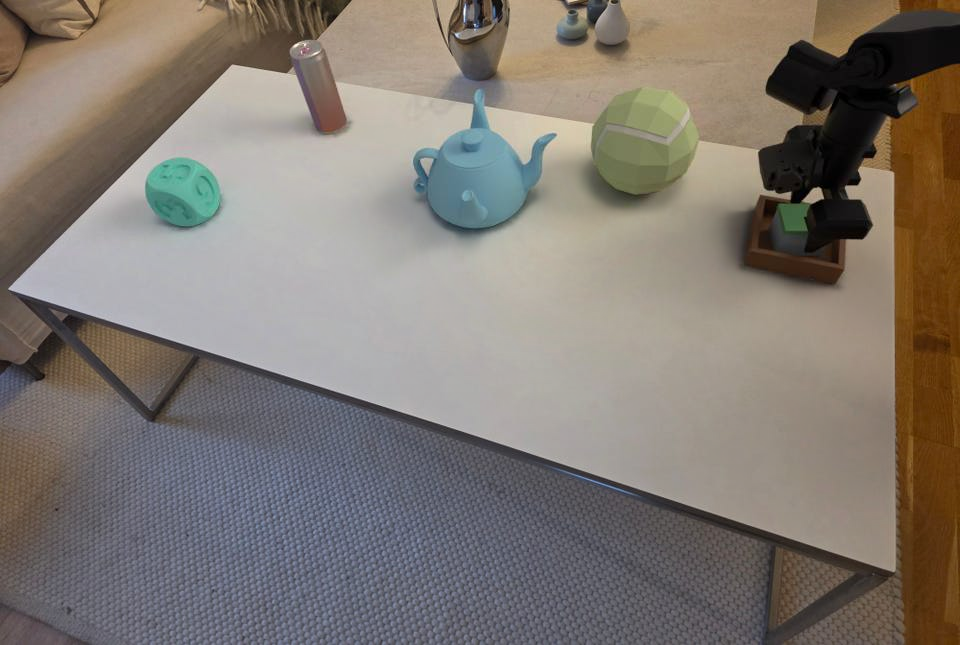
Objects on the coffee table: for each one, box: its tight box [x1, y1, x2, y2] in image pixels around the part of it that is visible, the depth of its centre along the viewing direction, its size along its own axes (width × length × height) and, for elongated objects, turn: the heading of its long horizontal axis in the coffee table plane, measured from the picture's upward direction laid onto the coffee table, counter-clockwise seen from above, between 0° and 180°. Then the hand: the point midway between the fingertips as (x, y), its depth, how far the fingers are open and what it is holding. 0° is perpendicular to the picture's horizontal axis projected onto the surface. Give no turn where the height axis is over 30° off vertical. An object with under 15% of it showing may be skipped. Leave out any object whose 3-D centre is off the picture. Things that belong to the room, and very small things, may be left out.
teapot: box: [412, 88, 558, 229], centre depth 89 cm, size 17×19×12 cm
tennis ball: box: [590, 86, 700, 196], centre depth 88 cm, size 15×15×15 cm
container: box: [768, 203, 825, 256], centre depth 81 cm, size 6×5×5 cm
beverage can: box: [289, 39, 347, 135], centre depth 104 cm, size 6×6×15 cm
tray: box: [744, 194, 847, 285], centre depth 82 cm, size 12×12×3 cm
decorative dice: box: [144, 156, 221, 227], centre depth 96 cm, size 8×8×8 cm
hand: (800, 227), depth 81 cm, fingers open, 9 cm apart
